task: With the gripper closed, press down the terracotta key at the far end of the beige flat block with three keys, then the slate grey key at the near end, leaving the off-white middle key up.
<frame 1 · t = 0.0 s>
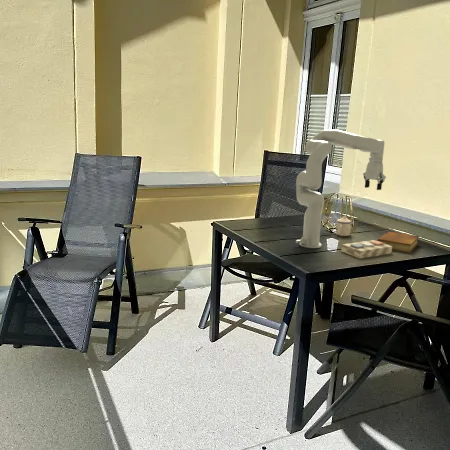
hand: (372, 188, 270), 31 cm above the table, tool pointing down, fingers open, 9 cm apart
teacup with lid: (342, 235, 283), on the table
key offwhite: (367, 245, 246), point 4 cm above the table, slide at 0.0 cm
beige flat block: (366, 252, 247), on the table
key slate: (357, 247, 242), point 4 cm above the table, slide at 0.0 cm
key terracotta: (376, 244, 249), point 4 cm above the table, slide at 0.0 cm
diary: (397, 246, 262), on the table
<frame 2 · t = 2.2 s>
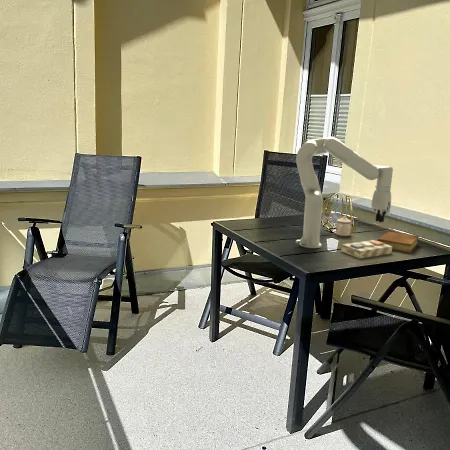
hand: (379, 221, 246), 17 cm above the table, tool pointing down, fingers closed
nothing on the table moved.
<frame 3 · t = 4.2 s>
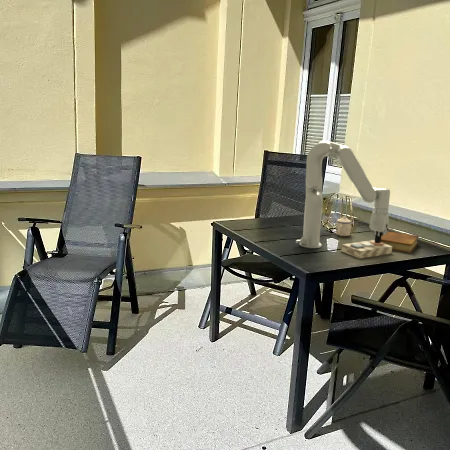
hand: (377, 242, 249), 5 cm above the table, tool pointing down, fingers closed
key terracotta: (376, 244, 249), point 4 cm above the table, slide at 0.1 cm, touching gripper
everything else where it was.
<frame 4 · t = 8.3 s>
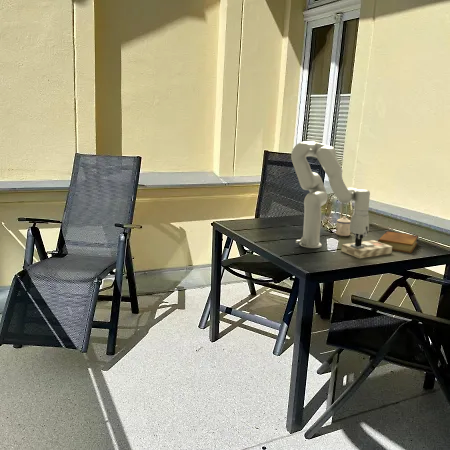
hand: (358, 245, 242), 5 cm above the table, tool pointing down, fingers closed
key slate: (357, 247, 243), point 4 cm above the table, slide at 0.1 cm, touching gripper
key terracotta: (376, 246, 250), point 3 cm above the table, slide at 1.2 cm
everything else where it was.
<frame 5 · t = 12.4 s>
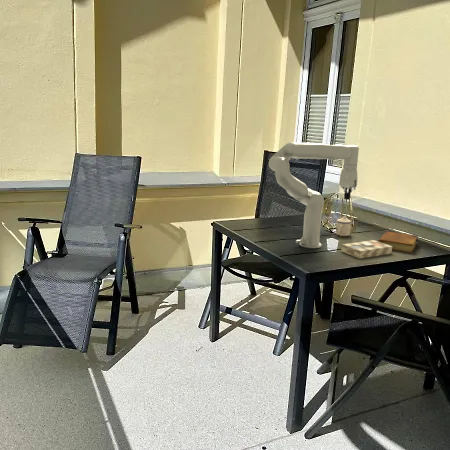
hand: (347, 199, 255), 27 cm above the table, tool pointing down, fingers closed
key slate: (356, 249, 243), point 3 cm above the table, slide at 1.2 cm
everything else where it was.
at the end: key terracotta slide at 1.2 cm; key slate slide at 1.2 cm; key offwhite slide at 0.0 cm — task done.
